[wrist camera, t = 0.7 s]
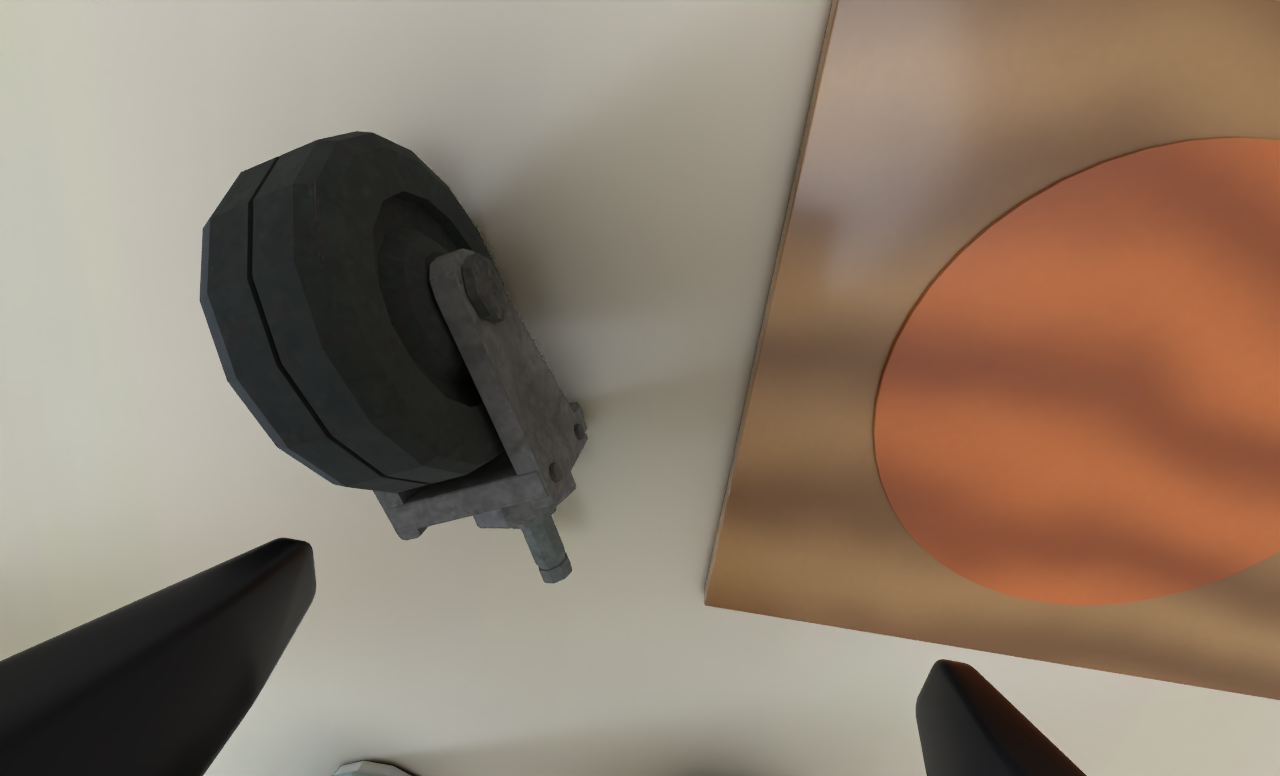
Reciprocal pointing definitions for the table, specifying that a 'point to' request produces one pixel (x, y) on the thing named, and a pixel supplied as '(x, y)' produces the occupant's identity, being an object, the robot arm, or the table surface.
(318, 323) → the caster wheel
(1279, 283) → the wooden board
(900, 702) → the table surface
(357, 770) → the disposable coffee cup
